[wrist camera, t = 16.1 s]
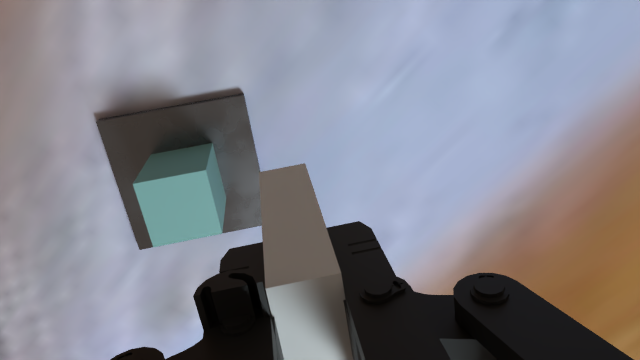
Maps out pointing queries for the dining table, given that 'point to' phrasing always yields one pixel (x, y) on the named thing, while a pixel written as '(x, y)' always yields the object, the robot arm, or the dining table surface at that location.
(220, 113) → the grey square plate
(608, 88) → the dining table surface
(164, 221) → the teal block
